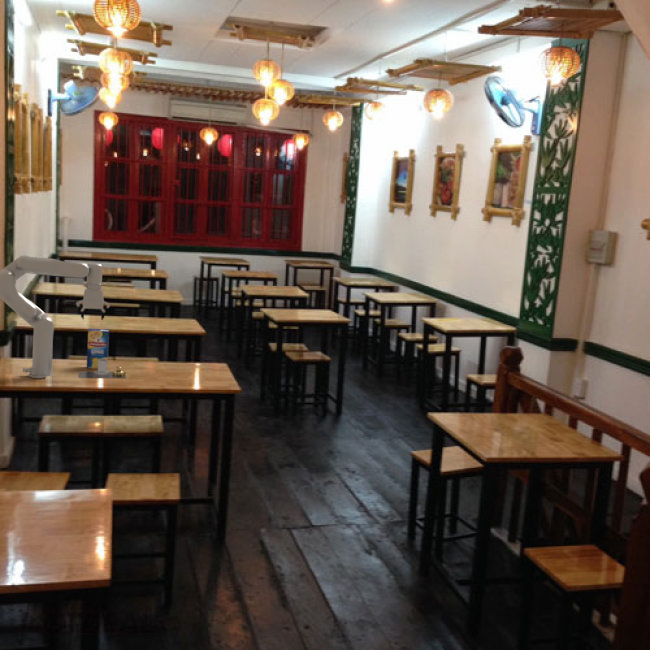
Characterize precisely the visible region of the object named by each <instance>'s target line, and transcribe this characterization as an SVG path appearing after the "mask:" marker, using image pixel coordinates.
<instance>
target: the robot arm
mask: <svg viewBox="0 0 650 650" xmlns="http://www.w3.org/2000/svg"><path fill="white" fill-rule="evenodd" d="M25 274H28V275H29V274H32V275H41V276H42V275H44V276H53V277H54V276H55V277H66V278H67V277H68V278H78V279H84V278H86V283H83V287H85V289H84V290H83V291H84V292H83V299H81V300H79V301H76V303H75V305H76V307H77V309H78V310H80V318H81V320H84V319H85V310H86V309H89V310H91V309H93V310H100V311H101V317H100V319H101V321H103V320H104V319H105V313H106V311H108V310H109V308H110V307H111V304H110V303H109V302H107V301H105V300H104V289H103V287H102V285H103V265H102V264H101V263H97V262H90V263H87V262H84V261H76V262H70V261H63V260H58V259H55V258H47V257H37V256H35V257H34V256H28V255H21V256H20V255H19V257H17V258H16V259H14V260H13V261H12V262H10V263H8V265H6V266H5V267H3V268H2V269H1V270H0V299H1V300H2V301H3V302H4V303H5V304H6V305H7V306H8V307H9V308H10V309H11V310H13V311H14V312H15V313H16V314H17V315H18V317H19V318H21V319H23V320H24V321H25V322H26V323H27V324H28V325H30V326H31V327H32V328H33V337H32V361H31V362H32V366H31V367H29V368H27V367H23V368H22V372H23V373H28V377H30V378H33V379H46V378H47V377H52V376H54V375H55V373H54V372H53V349H54V348H53V342H54V341H53V340H54V332H55V324H54V321H53V319H52V318H51V317H50V316H49V315H48V314H46V313H45V312H44V310H42V309H41V308H40V307H38V306H37V305H36V304H35V303H34V302H33V301H32V300H30V299H28V298H27V297H25V296H24V295H23V294H22V293H21V292H20V291H19V290H18V289H17V288H16V283H17V280H19V279H20V278H22V277H23V276H24V275H25ZM80 304H82V306H81V305H80ZM104 305H106V307H105V308H104Z"/></svg>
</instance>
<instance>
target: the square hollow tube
mask: <svg viewBox="0 0 650 650" xmlns="http://www.w3.org/2000/svg"><path fill="white" fill-rule="evenodd" d="M93 372H94V375H97V376H101V377H103V376H108V375H110V372H111V371H110V370H108V367H107V359H98V368H97V369H96V370H94V371H93Z"/></svg>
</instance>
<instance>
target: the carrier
mask: <svg viewBox="0 0 650 650" xmlns="http://www.w3.org/2000/svg"><path fill="white" fill-rule="evenodd" d="M126 374H127V372H126V371H125V370H123V369H122V366H116V369H115V370H114V371H113V370H112V371H110V375H108V376H103V377H101V376H97V375H94V371H78V375H77V376H78V378H79V379H124V380H125V379H127V375H126Z"/></svg>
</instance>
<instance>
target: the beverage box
mask: <svg viewBox="0 0 650 650" xmlns="http://www.w3.org/2000/svg"><path fill="white" fill-rule="evenodd" d="M109 341H110V329H108V328H107V329H105V328H88V330H87V350H86V351H87V352H86V353H87V354H86V355H87V356H86V368H87V369H98V359H107V368H108V365H109V363H108V362H109V360H108V359H109V344H110V343H109Z"/></svg>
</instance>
